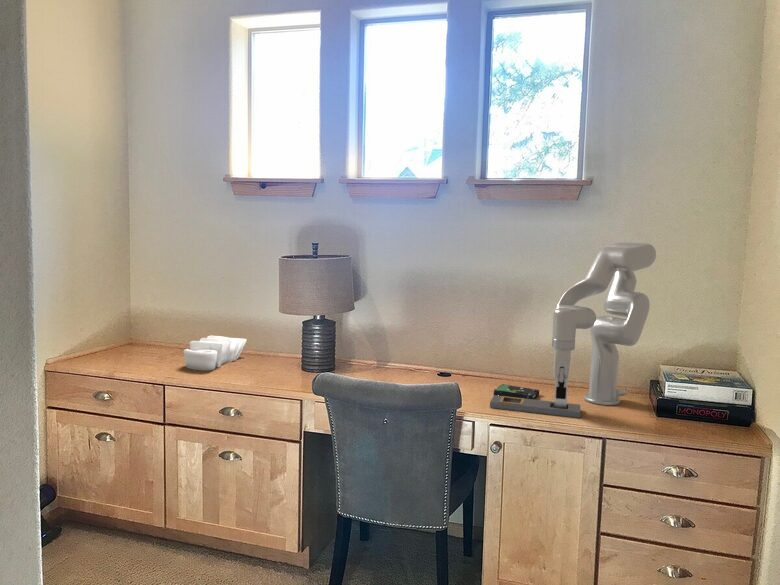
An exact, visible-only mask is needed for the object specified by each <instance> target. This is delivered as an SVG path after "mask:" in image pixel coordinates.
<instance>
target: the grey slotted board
mask: <svg viewBox="0 0 780 585" xmlns="http://www.w3.org/2000/svg"><path fill="white" fill-rule="evenodd" d="M490 407H491V408H490ZM489 408H490V409H497V408H500V409H499V410H506V409H508V411H514V410H515V411H517V412H523V413H533V414H541V415H550V416H557V417H569V418H575V419H580V418H581V404H577V403H568V402H567V406H566V408H564V407H554V401H551V400H550V401H549V400H543V399H542V400H541V399H525V398H516V397H507V396H498V395H494V394H493V396H492V398H491V400H490V401H489ZM515 411H514V412H515Z"/></svg>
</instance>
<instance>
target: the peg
mask: <svg viewBox="0 0 780 585" xmlns="http://www.w3.org/2000/svg"><path fill="white" fill-rule="evenodd" d="M557 378H558V376H557ZM557 378H556V377H555V378H554V379H555V381H554V401H553V402H554V407H564V408H566V406H567V403H568V384H569V382H568V381H569V378H568V379H566V386H565V387H566V399H557V398H556V387H557ZM559 378H560V376H559ZM563 378H565V377H563ZM563 381H564V380H563Z"/></svg>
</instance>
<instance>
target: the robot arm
mask: <svg viewBox="0 0 780 585" xmlns="http://www.w3.org/2000/svg"><path fill="white" fill-rule="evenodd" d="M656 252H657V251H656V249H655V247H654V246H653V245H652V244H650V243H639V242H637V243H636V242H616V243H613V244H612V245H610V246H606V247H602V248H601V249H599V251H598V252H597V253H596V255H595V257H594V259H593V261H592V263H591V265H590V267H589V268H588V270H587V272H586V274H585V277H584V278H583V279H582V280H579V281H578V282H577V283H575V284H573V285H572V286H571V287H570V288H568V289H567V290H566V291H565V292H564V293H563V294H562V295H561V298H560V299H559V302H557V305H556V307H555V309H554V310H553V314H552V315H553V318H552V339H551V341H552V342H551V349H553V350H554V355H553V356H554V358H553V373H552V374H553V375H552V376H553V377H552V378H553V379H555V378H557V376H558V378H557V387H556V398H557V399H566V387H565V386H566V379H568V380H569V374H570V368H571V355H572V351H575V349H576V333H577V332H576V330H577V329H579V330H580V329H581V330H586V329H587V330H588V329H589V331H590V337H591V339H590V340H591V357H590V358H591V360H590V372H589V384H588V385H589V386H588V393H587V394H584V397H583V398H584V399H583V400H585V401H586V402H588V403H592V404H594V405H595V404H596V405H602V406H617V405H619V404H620V403H621V399H620V398H619V397H620V396H621V397H623V396H627V395H628V392H627V390H625V389H624V390H620V389H617V387H618V372H619V358H620V355H619V350H618V348H617V345H621V346H625V347H631V346H634V345H636V344H637V343H638V341H639V340H640V338H641V335H642V333H643V329H644V326H645V324H646V322H647V319H648V318H647V317H648V315H649V312H650V305H651V304H650V299H649V297H648V295H646V294H645V293H643V292H640V291H639V292H638V291H635V290H636V287H637V276H636V274H635V273H634V272H637V271H639V270H643V269H646V268H649V267H651V266H652V265H653V264H654V262H655V261H656V258H657V253H656ZM607 289H608V290H607ZM605 291H607V293H606V296H605V299H604V302H603V310H604V311H605V313H607V314H609V315H611V316H608V315H599V316H597V314H596V312H595V311H594V310H593V309H592V308H589V307H586V306H580V305H576V304H577V303H579V302H580V301H582V300H583V299H586V298H589V297H592V296H596V295H599V294H602V293H604V292H605ZM622 317H624V318H622ZM559 376H560V378H559ZM563 377H565V378H563ZM563 380H564V381H563Z"/></svg>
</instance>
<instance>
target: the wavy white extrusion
mask: <svg viewBox="0 0 780 585" xmlns="http://www.w3.org/2000/svg"><path fill="white" fill-rule="evenodd" d="M247 340H248V339H247V338H241V337H240V338H239V337H230V336H222V335H213V334H212V335H211V334H210V335H208V336H206V337H201V338H200V339H199V340H191V341H189V348H185V349H183V357H184V362H185V368H187V369H191V370H195V371H203V372H204V371H205V372H206V371H213V370H215V369H216V368H220V367H221V366H222V364H226V363H231V362H233V361H234V360H235V361H236V360H239V357H240V355H241V353H242V351H243V349H244V347H245V345H246V343H247Z"/></svg>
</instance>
